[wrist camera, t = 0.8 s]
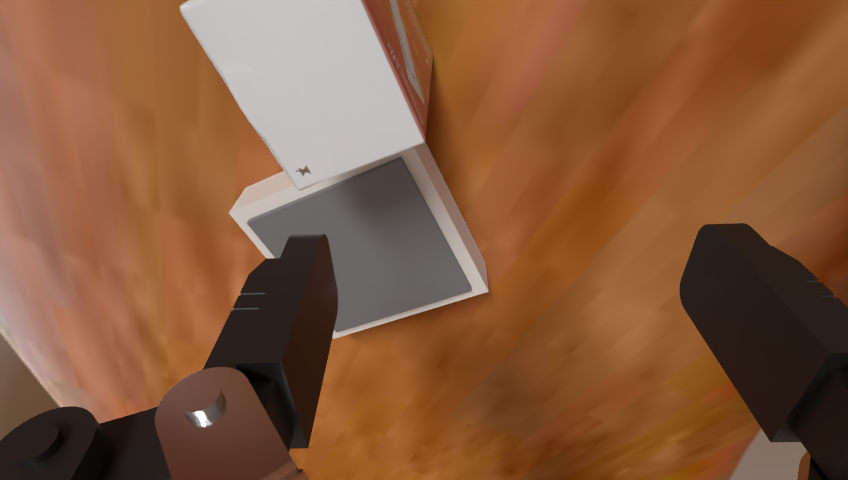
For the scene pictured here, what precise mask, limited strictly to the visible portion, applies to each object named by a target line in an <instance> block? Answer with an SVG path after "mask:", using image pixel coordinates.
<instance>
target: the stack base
mask: <svg viewBox="0 0 848 480" xmlns="http://www.w3.org/2000/svg"><path fill="white" fill-rule="evenodd" d="M229 214H230V215H231V216H232V218H233V219H234V220H235V221H236V222H237V224H238V225H239V226H240V227H241V228H242V230H243V231H244V232H245V233H246V234H247V236H248V237H249V238H250V239H251V240H252V242H253V243H254V244H255V245H256V246H257V248H258V249H259V250H260V251H261V252H262V254H263V255H264V256H265V257H266V258H280V256H281V254H282V252H283V249H284V247H285V245H286V242H287V240H288V238H289V236H290V235H305V234H326V236H327V238H328V241H329V246H330V251H331V257H332V262H333V268H334V273H335V278H336V284H337V290H338V312H337V318H336V323H335V327H334V332H333V336H332V337H333V339H335V338H338V337H341V336H345V335H348V334H351V333H355V332H358V331H361V330H364V329H368V328H371V327H374V326H378V325H381V324H384V323H387V322H391V321H394V320H397V319H401V318H404V317H407V316H410V315H414V314H417V313H420V312H424V311H427V310H430V309H433V308H437V307H440V306H443V305H447V304H450V303H453V302H456V301H460V300H463V299H466V298H470V297H473V296H476V295H479V294H483V293H486V292H489V291H488V281H487V272H486V263H485V261H484V259H483V257H482V255H481V253H480V251H479V249H478V247H477V245H476V243H475V241H474V239H473V237H472V235H471V233H470V230H469V228H468V226H467V224H466V222H465V220H464V218H463V216H462V214H461V212H460V210H459V208H458V206H457V204H456V202H455V200H454V198H453V196H452V194H451V192H450V190H449V188H448V186H447V184H446V182H445V180H444V178H443V176H442V174H441V172H440V170H439V168H438V166H437V164H436V162H435V160H434V158H433V156H432V154H431V152H430V150H429V148H428V146H427V144H426V142H424V143H422V144H419V145H417V146H414V147H411V148H409V149H406V150H404V151H401V152H398V153H396V154H393V155H390V156H388V157H385V158H382V159H380V160H377V161H375V162H372V163H369V164H367V165H364V166H362V167H359V168H356V169H354V170H351V171H349V172H346V173H343V174H341V175H338V176H335V177H333V178H330V179H327V180H325V181H322V182H320V183H317V184H315V185H312V186H310V187H307V188H305V189H303V190H301V191H299V190H297V189H296V188H295V186H294V185H293V183H292V182H291V180H290V179H289V177H288V176H287V174H286V173H285V171H283V172H280V173H278V174H276V175H273V176H271V177H269V178H267V179H264V180H262V181H260V182H257V183H255V184H253V185H251V186H248V187H246V188H245V189H244V191H243V192H242V194H241V195H240V197H239V198H238V200H237V201H236V203H235V204H234V206H233V207H232V209H231V210H230V212H229Z"/></svg>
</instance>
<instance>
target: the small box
mask: <svg viewBox="0 0 848 480" xmlns="http://www.w3.org/2000/svg"><path fill="white" fill-rule="evenodd" d="M180 11H181V14H182V16H183V18H184V19H185V21H186V22H187V24H188V25H189V27H190V29H191V30H192V32H193V34H194V35H195V37H196V38H197V40H198V41H199V43H200V44H201V46H202V47H203V49H204V51H205V52H206V54H207V55H208V57H209V58H210V60H211V61H212V63H213V64H214V66H215V68H216V69H217V71H218V72H219V74H220V75H221V77H222V78H223V80H224V82H225V83H226V85H227V86H228V88H229V90H230V91H231V93H232V95H233V96H234V98H235V100H236V102H237V103H238V105H239V107H240V108H241V110H242V111H243V113H244V114H245V116H246V117H247V119H248V120H249V122H250V123H251V124H252V126H253V127H254V129H255V130H256V131H257V133H258V134H259V135H260V136H261V138H262V139H263V140H264V142H265V143H266V145H267V146H268V148H269V149H270V151H271V152H272V153H273V155H274V156H275V158H276V159H277V161H278V162H279V164H280V165H281V167H282V168H283V170H284V171H285V173H286V174H287V176H288V177H289V179H290V180H291V182H292V183H293V185H294V186H295V188H296V189H297V190H299V191H301V190H303V189H305V188H307V187H310V186H312V185H315V184H317V183H320V182H322V181H325V180H327V179H330V178H333V177H335V176H338V175H341V174H343V173H346V172H349V171H351V170H354V169H356V168H359V167H362V166H364V165H367V164H369V163H372V162H375V161H377V160H380V159H382V158H385V157H388V156H390V155H393V154H396V153H398V152H401V151H404V150H406V149H409V148H411V147H414V146H417V145H419V144H422V143H424V142H425V140H426V126H427V116H428V105H429V96H430V84H431V73H432V64H433V53H432V51H431V49H430V47H429V44H428V42H427V40H426V38H425V36H424V33H423V31H422V29H421V26H420V24H419V21H418V19H417V16H416V14H415V11H414V9H413V6H412V4H411V1H410V0H189V1H187V2H185V3H183V4H182V5H180Z"/></svg>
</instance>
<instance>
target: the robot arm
mask: <svg viewBox="0 0 848 480" xmlns="http://www.w3.org/2000/svg"><path fill="white" fill-rule="evenodd" d="M817 280H818V279H817V278H816V277H815V276H814V275H813V274H812V273H811V272H810V271H809V270H808V269H807V268H806V267H805V266H803V265H802V264H801V263H800V262H799V261H798V260H796V259H794V258H792V257H791V256H789V255H787V254H785V253H784V252H782V251H780V250H778V249H777V248H775V247H773V246H770V245H769V244H768V243H767V242H766V241H765V240H764V239H763V238H762V237H761V236H760V235H759V234H758V233H757V232H756V231H755V230H754V229H753V228H752V227H750V226H749V225H747V224H744V223H739V224H707V225H704V226H703V227H702V228H701V229H700V230H699V232H698V234H697V237H696V239H695V242H694V245H693V248H692V251H691V253H690V256H689V259H688V262H687V265H686V267H685V270H684V273H683V276H682V279H681V282H680V298H681V302H682V305H683V307H684V309H685V311H686V312H687V314H688V315H689V317H690V318H691V320H692V322H693V323H694V325H695V326H696V328H697V329H698V331H699V332H700V334H701V335H702V337H703V339H704V340H705V342H706V343H707V345H708V346H709V348H710V349H711V351H712V352H713V354H714V356H715V357H716V359H717V360H718V362H719V363H720V365H721V366H722V368H723V369H724V371H725V372H726V374H727V376H728V377H729V379H730V380H731V382H732V383H733V385H734V386H735V388H736V389H737V391H738V393H739V394H740V396H741V397H742V399H743V400H744V402H745V403H746V405H747V406H748V408H749V410H750V411H751V413H752V414H753V416H754V417H755V419H756V420H757V422H758V423H759V425H760V427H761V428H762V430H763V431H764V433H765V434H766V436H767V437H768V439H769V440H770V442H802V444H803V445H804V447H805V448H806V450H807V452H806V453H805V455H804V456H803V457H802V459H801V461H800V464H799V472H798V479H797V480H848V307H847V306H846V305H845V304H844V303H843V302H842V301H841V300H840V299H839V298H834V297H833V293H832V292H831V291H830V290H829V289H828V288H827V287H826V286H825V285H824V284H823V283H818V281H817ZM233 308H234V310H233V311H231V313H230V315H229V317H228V319H227V321H226V323H225V325H224V327H223V329H222V331H221V333H220V335H219V338H218V340H217V342H216V344H215V346H214V348H213V350H212V352H211V354H210V356H209V358H208V360H207V362H206V364H205V366H204V368H203V370H201V371H198V372H196V373H193V374H191V375H189V376H188V377H186V378H184V379H183V380H181V381H180V382H178V383H177V384H176V385H175V386H173V387H172V388H171V389H170V390H169V391H168V392H167V394H166V395H165V396H164V397H163V399H162V400H161V402H160V404H159V406H158V407H155V408H152V409H149V410H146V411H142V412H139V413H136V414H132V415H129V416H125V417H122V418H118V419H115V420H111V421H108V422H104V423H101V424H99V423H98V422H97V420H96V419H95V418H94V416H93V415H92V414H91V413H90V412H89V411H88V410H86V409H84V408H80V407H61V408H56V409H53V410H49V411H47V412H44V413H41V414H39V415H37V416H35V417H33V418H31V419H29V420H27V421H26V422H24V423H22V424H21V425H20V426H18V427H16V428H15V429H13V430H12V431H11V432H10V433H9V434H7V435H6V436H5V437H4V438H3V439H2V440H1V441H0V480H309V479H308V477H307V476H306V474H305V473H304V471H303V470H302V469H300V470H299V469H298V468H297V466H296V465H295V463H294V461H293V459H292V458H291V456H290V454H289V449H290V448H308V446H309V441H310V437H311V432H312V428H313V423H314V418H315V414H316V409H317V405H318V400H319V396H320V391H321V386H322V382H323V377H324V373H325V368H326V364H327V359H328V355H329V350H330V345H331V341H332V336H333V332H334V327H335V323H336V318H337V312H338V290H337V284H336V278H335V273H334V268H333V262H332V257H331V251H330V246H329V241H328V238H327V236H326V234H305V235H290V236H289V238H288V240H287V242H286V245H285V247H284V249H283V252H282V254H281V256H280V258H267V259H265V260H264V261H263V262H262V263H261V264H260V265H259V266H258V267H257V268H255V269H254V270H253V271H252V272H251V273H250V274H249V276H248V278H247V280H246V282H245V284H244V286H243V288H242V290H241V296H238V298H237V300H236V302H235V305H234V307H233Z"/></svg>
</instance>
